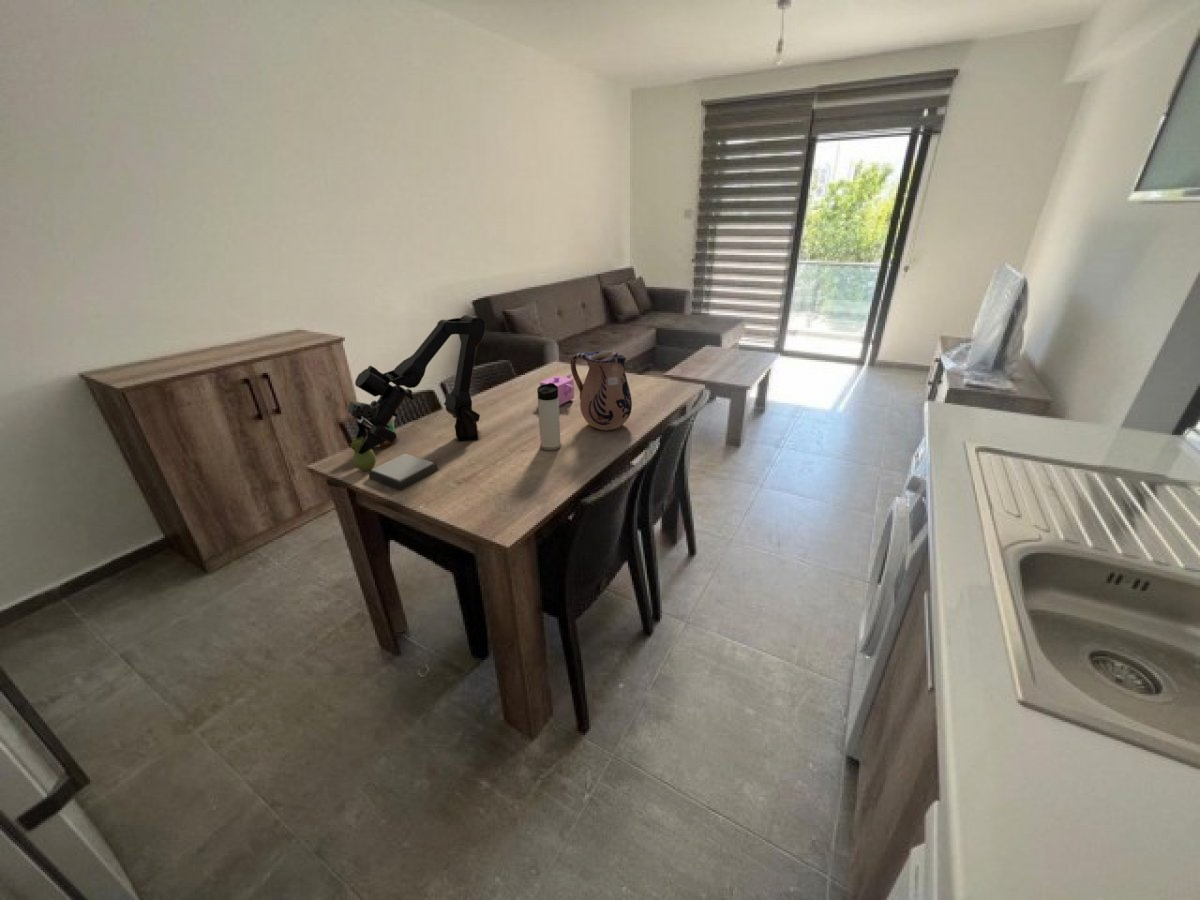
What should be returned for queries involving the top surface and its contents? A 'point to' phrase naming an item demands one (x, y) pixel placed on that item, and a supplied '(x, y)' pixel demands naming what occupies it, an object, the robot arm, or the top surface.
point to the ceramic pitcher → (603, 389)
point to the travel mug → (549, 416)
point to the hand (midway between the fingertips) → (356, 450)
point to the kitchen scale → (402, 471)
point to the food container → (387, 443)
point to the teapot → (562, 387)
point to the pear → (362, 456)
